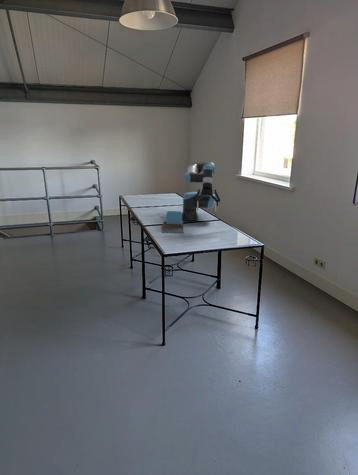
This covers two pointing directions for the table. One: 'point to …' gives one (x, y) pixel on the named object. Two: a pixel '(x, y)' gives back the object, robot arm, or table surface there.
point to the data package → (174, 217)
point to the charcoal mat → (172, 230)
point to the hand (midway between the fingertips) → (206, 210)
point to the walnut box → (171, 225)
